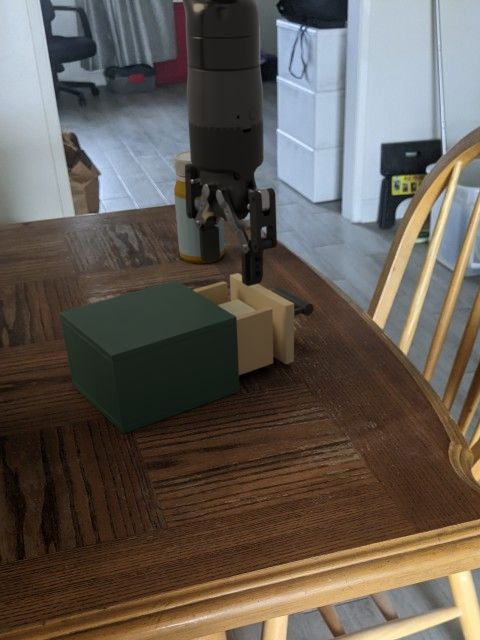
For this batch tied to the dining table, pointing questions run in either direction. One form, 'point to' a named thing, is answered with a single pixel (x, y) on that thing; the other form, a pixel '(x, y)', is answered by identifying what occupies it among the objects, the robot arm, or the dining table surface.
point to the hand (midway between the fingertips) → (230, 271)
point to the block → (237, 307)
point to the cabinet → (151, 353)
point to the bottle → (186, 226)
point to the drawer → (261, 321)
